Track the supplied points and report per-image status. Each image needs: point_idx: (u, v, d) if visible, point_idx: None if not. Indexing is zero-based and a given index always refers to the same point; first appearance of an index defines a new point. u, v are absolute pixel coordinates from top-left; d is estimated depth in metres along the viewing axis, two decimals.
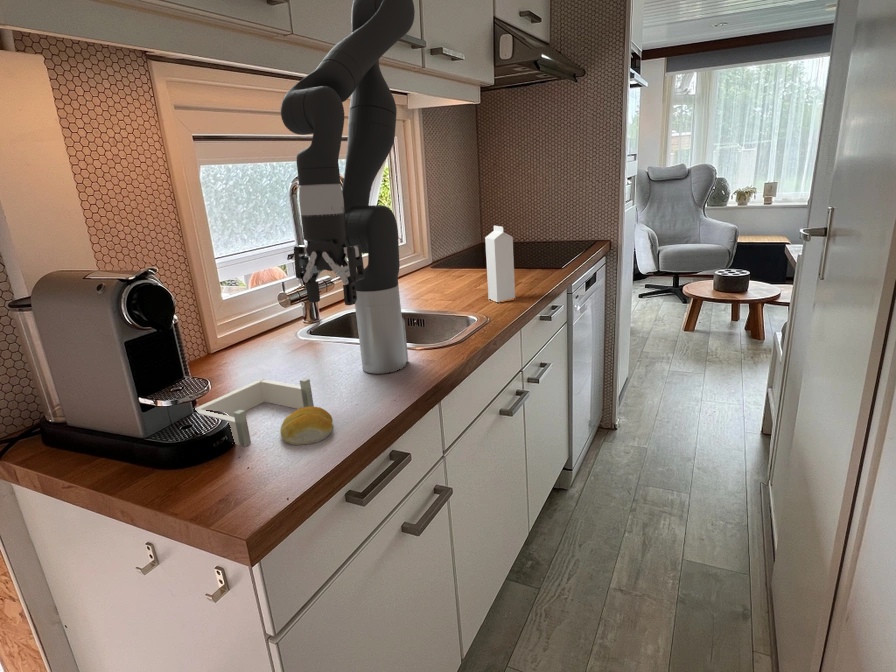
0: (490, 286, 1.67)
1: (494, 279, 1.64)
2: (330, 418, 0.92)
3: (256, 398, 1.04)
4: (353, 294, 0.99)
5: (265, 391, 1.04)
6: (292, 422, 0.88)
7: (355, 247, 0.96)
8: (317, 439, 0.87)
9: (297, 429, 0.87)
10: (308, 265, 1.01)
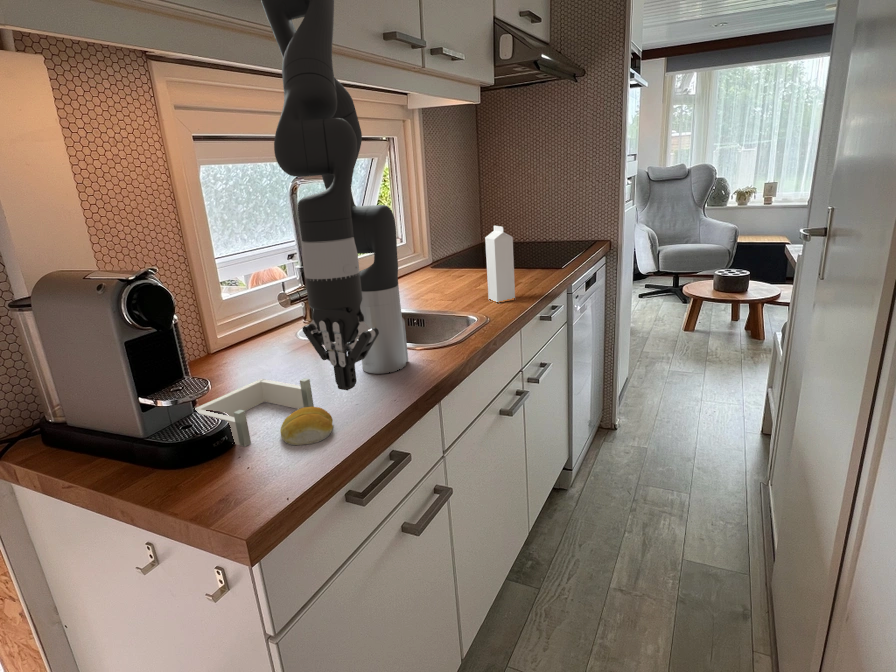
0: (490, 286, 1.67)
1: (494, 279, 1.64)
2: (330, 418, 0.92)
3: (256, 398, 1.04)
4: (352, 377, 0.82)
5: (265, 391, 1.04)
6: (292, 422, 0.88)
7: (372, 335, 0.78)
8: (317, 439, 0.87)
9: (297, 429, 0.87)
10: (325, 342, 0.80)
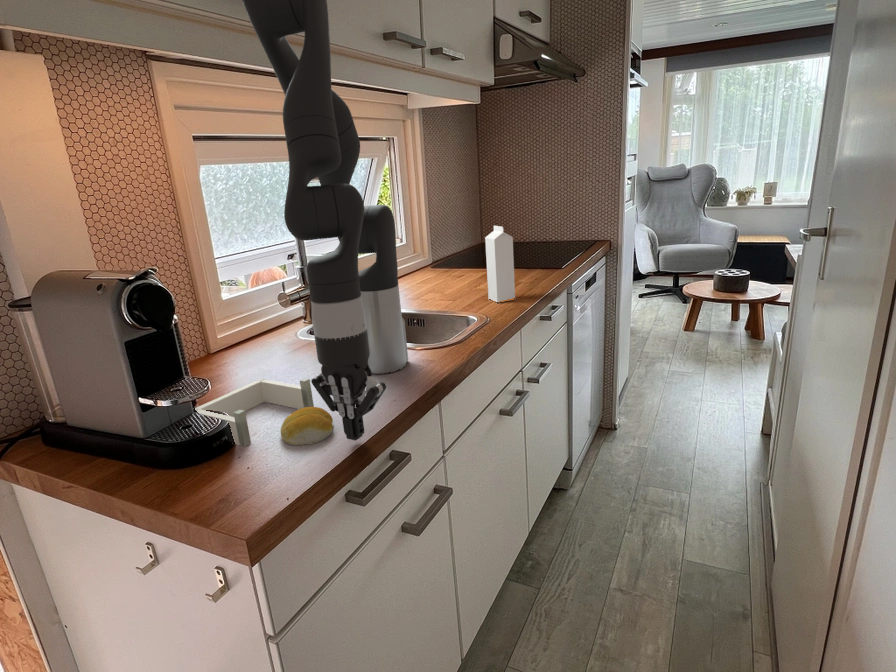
0: (490, 286, 1.67)
1: (494, 279, 1.64)
2: (330, 418, 0.92)
3: (256, 398, 1.04)
4: (360, 428, 0.85)
5: (265, 391, 1.04)
6: (292, 422, 0.88)
7: (380, 390, 0.80)
8: (317, 439, 0.87)
9: (297, 429, 0.87)
10: (334, 395, 0.83)
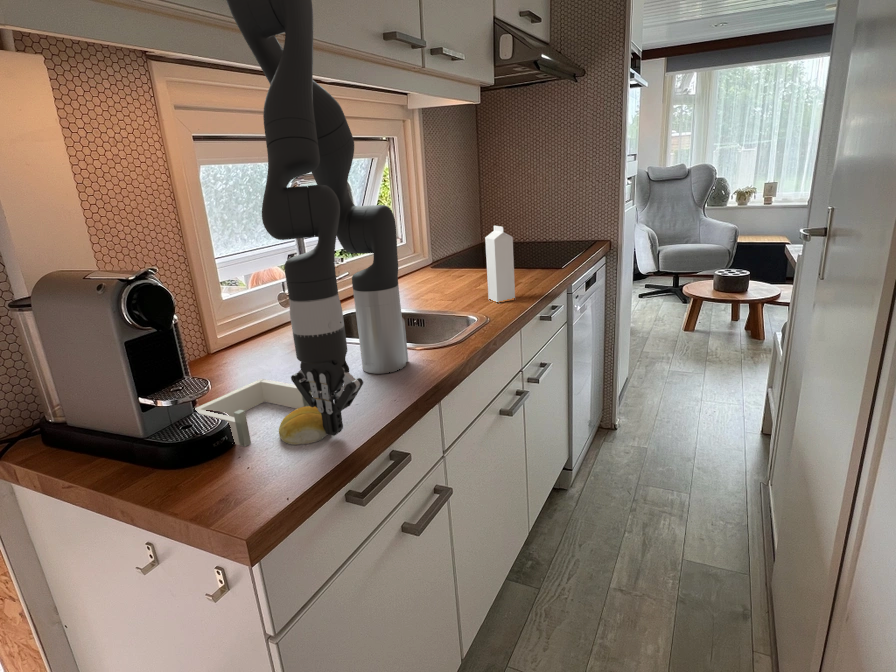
0: (490, 286, 1.67)
1: (494, 279, 1.64)
2: None
3: (256, 398, 1.04)
4: (338, 423, 0.87)
5: (265, 391, 1.04)
6: (290, 422, 0.88)
7: (357, 385, 0.82)
8: (315, 439, 0.87)
9: (295, 428, 0.87)
10: (312, 391, 0.85)
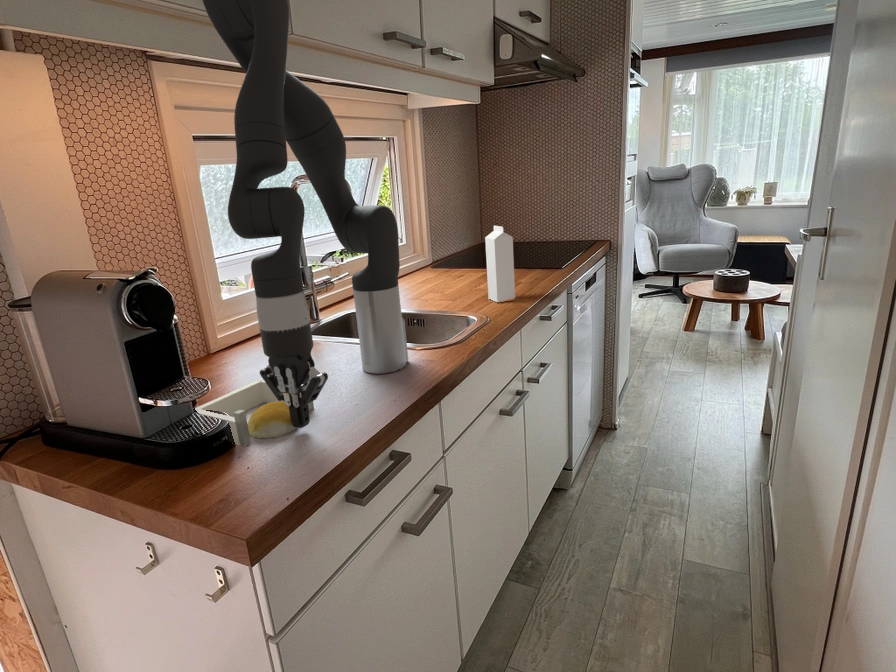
0: (490, 286, 1.67)
1: (494, 279, 1.64)
2: None
3: (256, 398, 1.04)
4: (305, 416, 0.90)
5: (265, 391, 1.04)
6: (258, 416, 0.91)
7: (322, 379, 0.86)
8: (282, 433, 0.90)
9: (263, 422, 0.90)
10: (280, 385, 0.88)
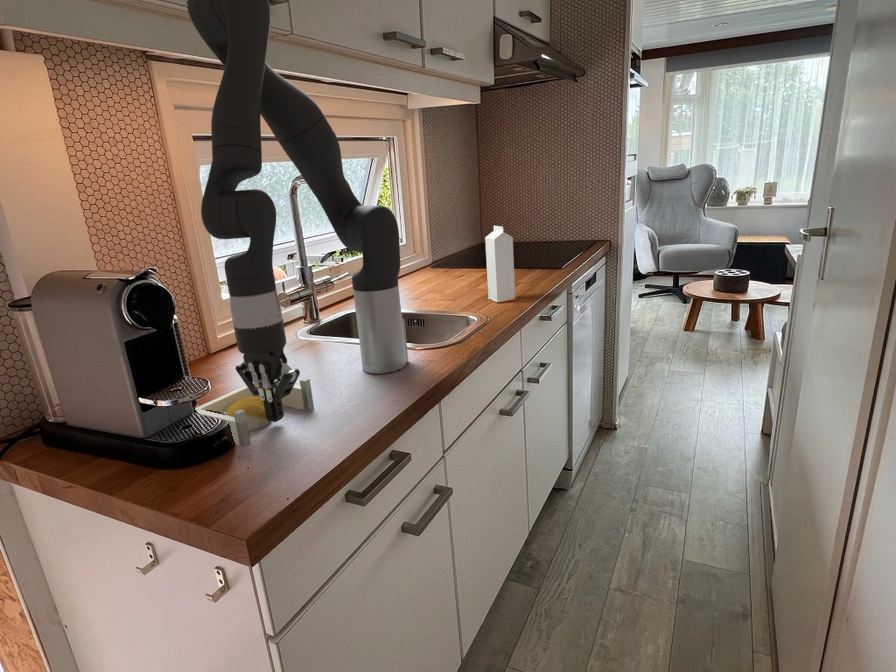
0: (490, 286, 1.67)
1: (494, 279, 1.64)
2: None
3: None
4: (279, 410, 0.93)
5: None
6: (231, 411, 0.94)
7: (293, 375, 0.89)
8: (254, 427, 0.93)
9: None
10: (254, 380, 0.92)
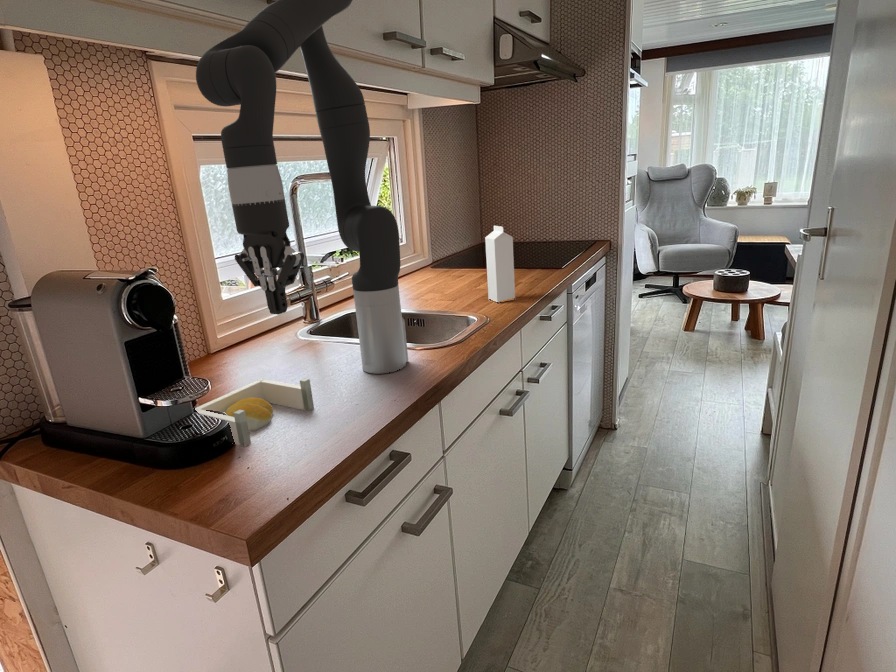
0: (490, 286, 1.67)
1: (494, 279, 1.64)
2: (270, 408, 0.98)
3: None
4: (282, 301, 0.86)
5: (265, 391, 1.04)
6: (231, 411, 0.94)
7: (297, 257, 0.82)
8: (254, 427, 0.93)
9: None
10: (255, 268, 0.85)
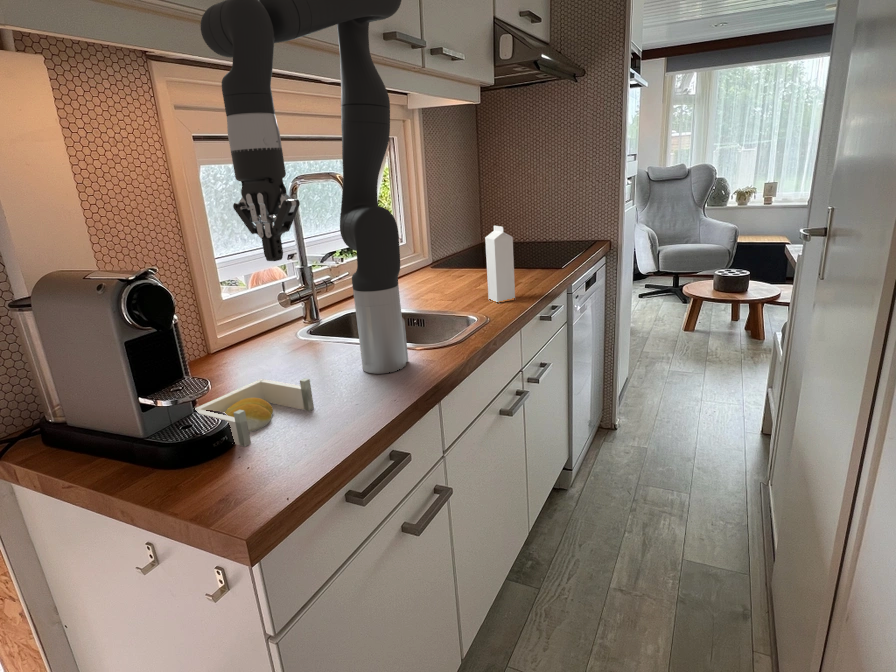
0: (490, 286, 1.67)
1: (494, 279, 1.64)
2: (270, 409, 0.98)
3: None
4: (278, 248, 0.90)
5: (265, 391, 1.04)
6: (231, 412, 0.93)
7: (293, 204, 0.85)
8: (254, 428, 0.93)
9: None
10: (252, 215, 0.88)
